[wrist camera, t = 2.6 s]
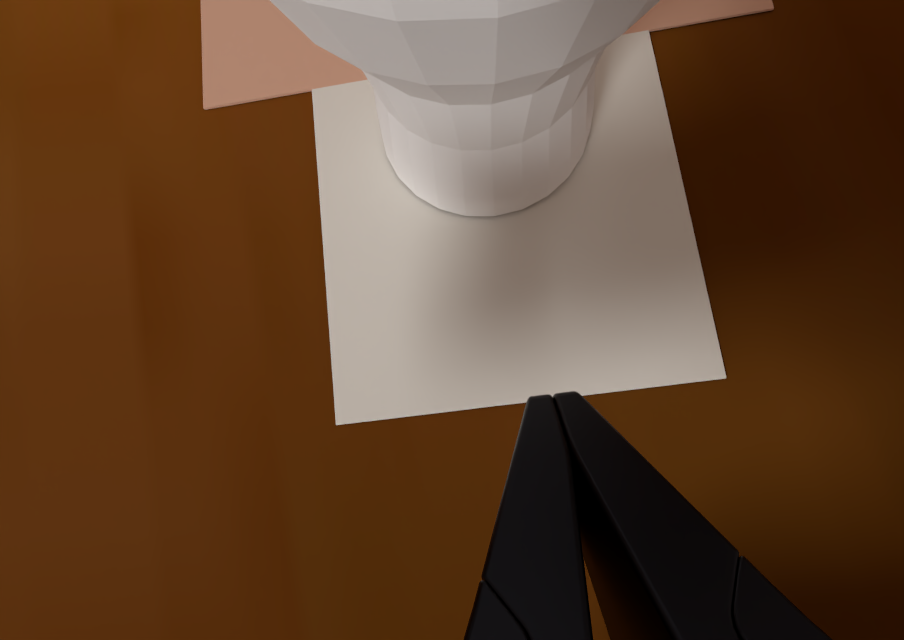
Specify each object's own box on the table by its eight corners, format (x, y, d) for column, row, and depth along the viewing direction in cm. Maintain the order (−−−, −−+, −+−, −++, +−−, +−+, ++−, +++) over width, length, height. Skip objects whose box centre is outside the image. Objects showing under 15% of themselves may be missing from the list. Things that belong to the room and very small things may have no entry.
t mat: (871, 360, 15) (873, 360, 15) (213, 439, 17) (211, 440, 16) (724, -162, 19) (725, -165, 19) (200, -56, 20) (199, -58, 20)
